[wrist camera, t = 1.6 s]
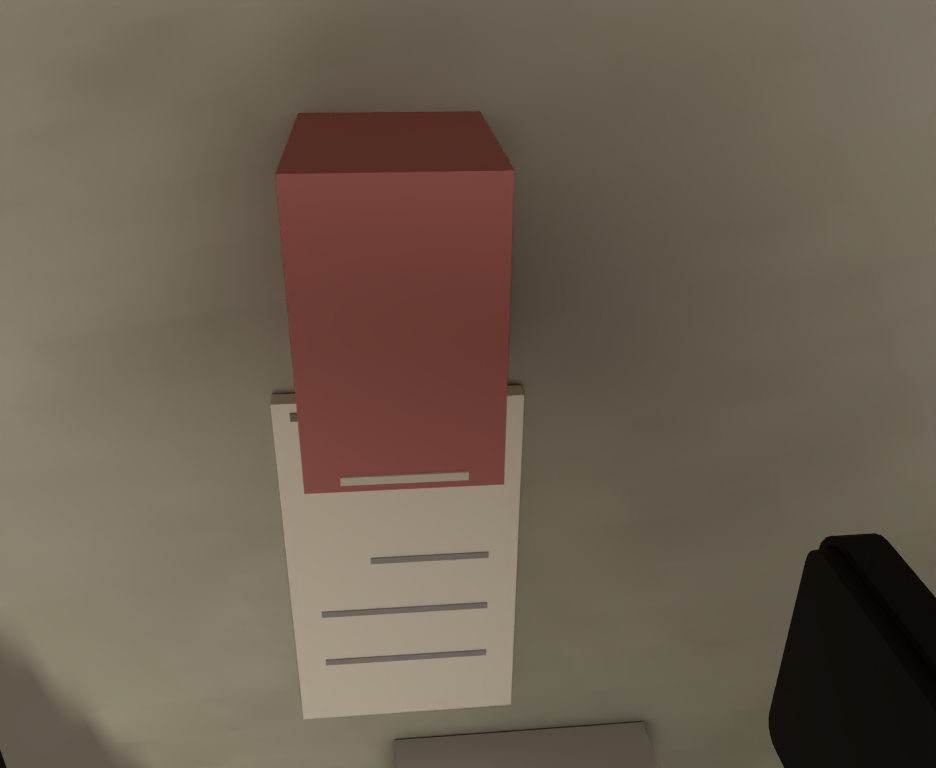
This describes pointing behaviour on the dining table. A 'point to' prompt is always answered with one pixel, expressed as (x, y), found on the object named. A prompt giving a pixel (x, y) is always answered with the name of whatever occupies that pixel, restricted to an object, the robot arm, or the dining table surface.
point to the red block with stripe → (397, 298)
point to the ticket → (401, 585)
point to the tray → (533, 749)
